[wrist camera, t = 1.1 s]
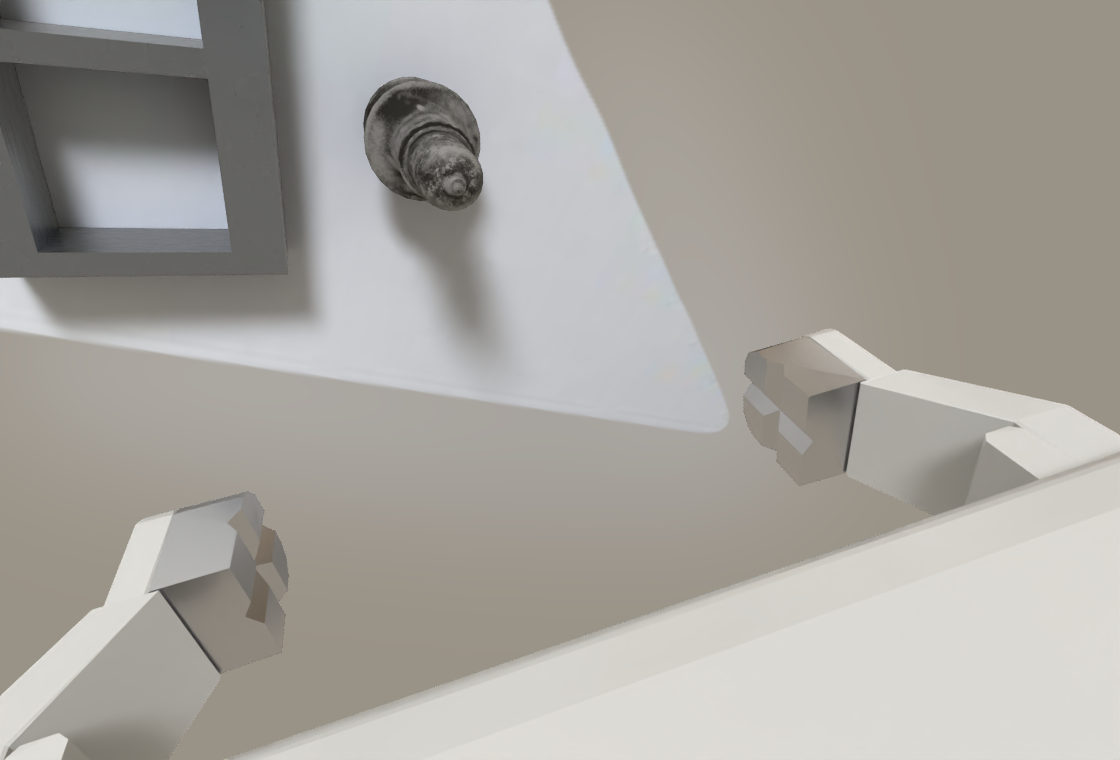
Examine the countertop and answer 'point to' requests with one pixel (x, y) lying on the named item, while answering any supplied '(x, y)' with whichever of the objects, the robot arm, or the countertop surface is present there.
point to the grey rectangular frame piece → (241, 134)
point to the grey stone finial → (424, 143)
